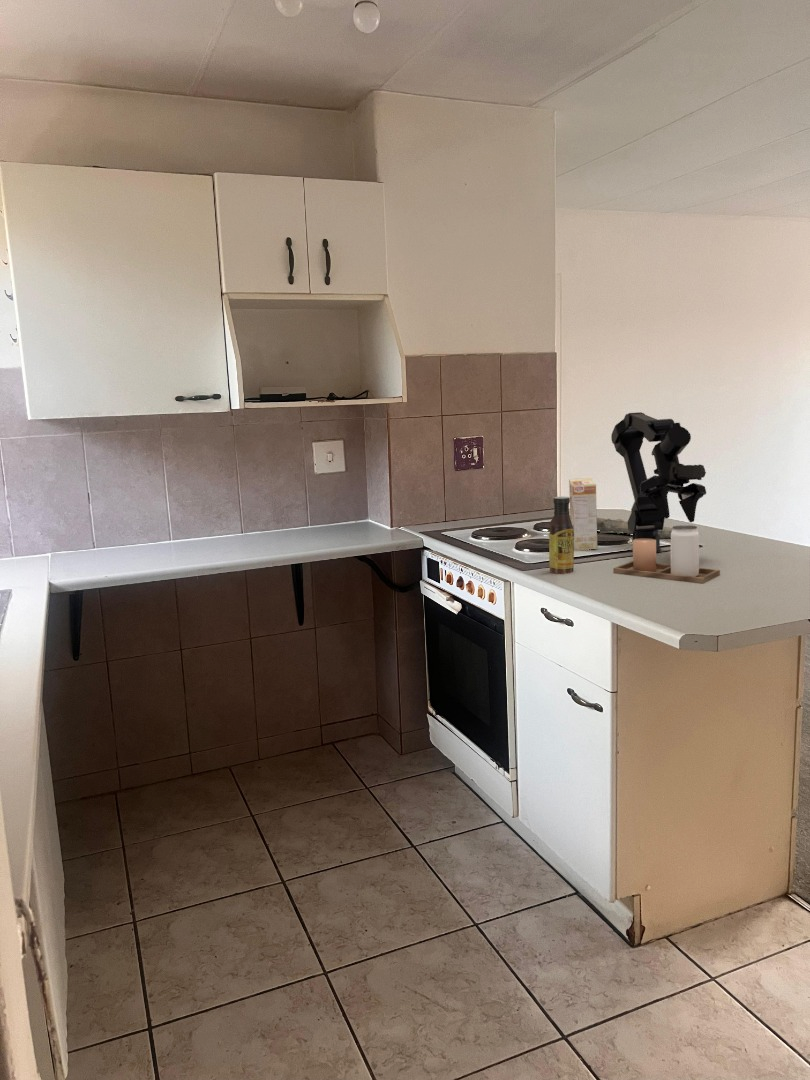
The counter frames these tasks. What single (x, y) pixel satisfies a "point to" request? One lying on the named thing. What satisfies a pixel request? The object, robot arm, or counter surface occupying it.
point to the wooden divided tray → (667, 573)
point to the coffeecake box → (583, 513)
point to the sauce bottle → (561, 538)
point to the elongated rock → (626, 527)
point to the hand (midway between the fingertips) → (679, 519)
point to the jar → (644, 554)
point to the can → (685, 550)
